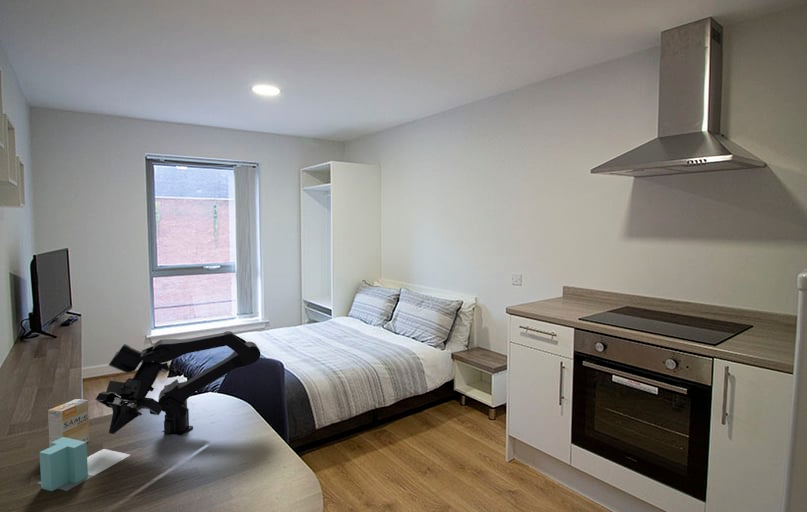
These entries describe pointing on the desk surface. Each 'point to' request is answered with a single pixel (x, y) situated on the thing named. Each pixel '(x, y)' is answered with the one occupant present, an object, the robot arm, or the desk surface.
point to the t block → (63, 463)
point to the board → (98, 464)
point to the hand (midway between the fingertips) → (111, 433)
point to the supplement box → (69, 421)
